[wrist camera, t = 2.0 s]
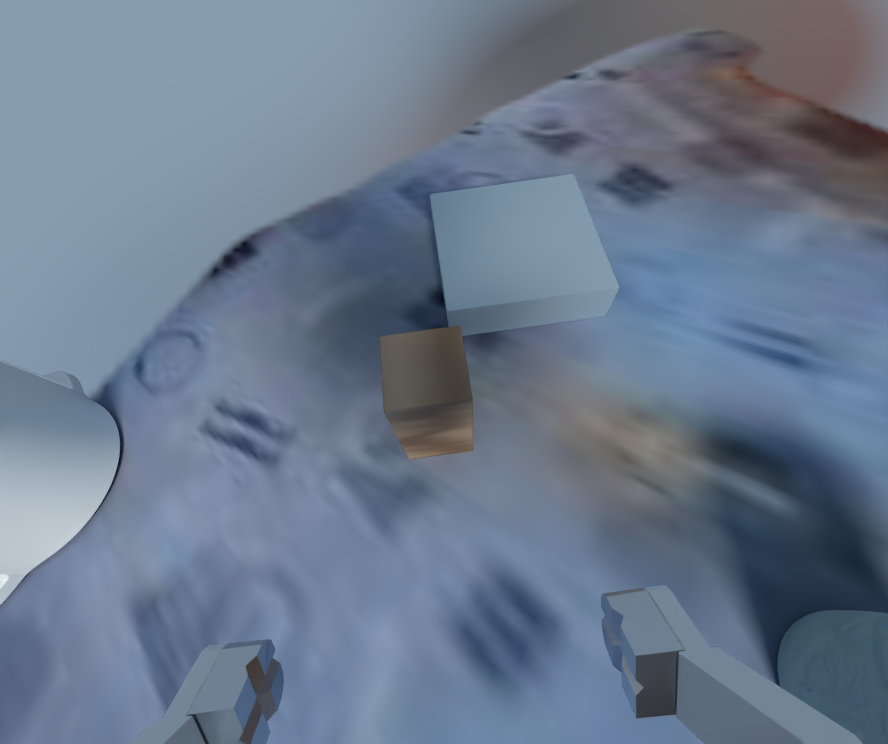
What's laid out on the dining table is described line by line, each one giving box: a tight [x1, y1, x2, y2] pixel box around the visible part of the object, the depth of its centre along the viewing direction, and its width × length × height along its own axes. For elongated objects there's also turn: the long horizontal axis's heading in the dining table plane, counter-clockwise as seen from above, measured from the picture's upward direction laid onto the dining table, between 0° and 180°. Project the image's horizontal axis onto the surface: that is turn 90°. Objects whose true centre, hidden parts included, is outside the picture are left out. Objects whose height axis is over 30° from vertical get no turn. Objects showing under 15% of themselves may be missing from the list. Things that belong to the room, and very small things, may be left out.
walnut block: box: [380, 325, 473, 459], centre depth 28 cm, size 5×5×10 cm
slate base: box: [430, 174, 619, 336], centre depth 38 cm, size 14×14×4 cm
